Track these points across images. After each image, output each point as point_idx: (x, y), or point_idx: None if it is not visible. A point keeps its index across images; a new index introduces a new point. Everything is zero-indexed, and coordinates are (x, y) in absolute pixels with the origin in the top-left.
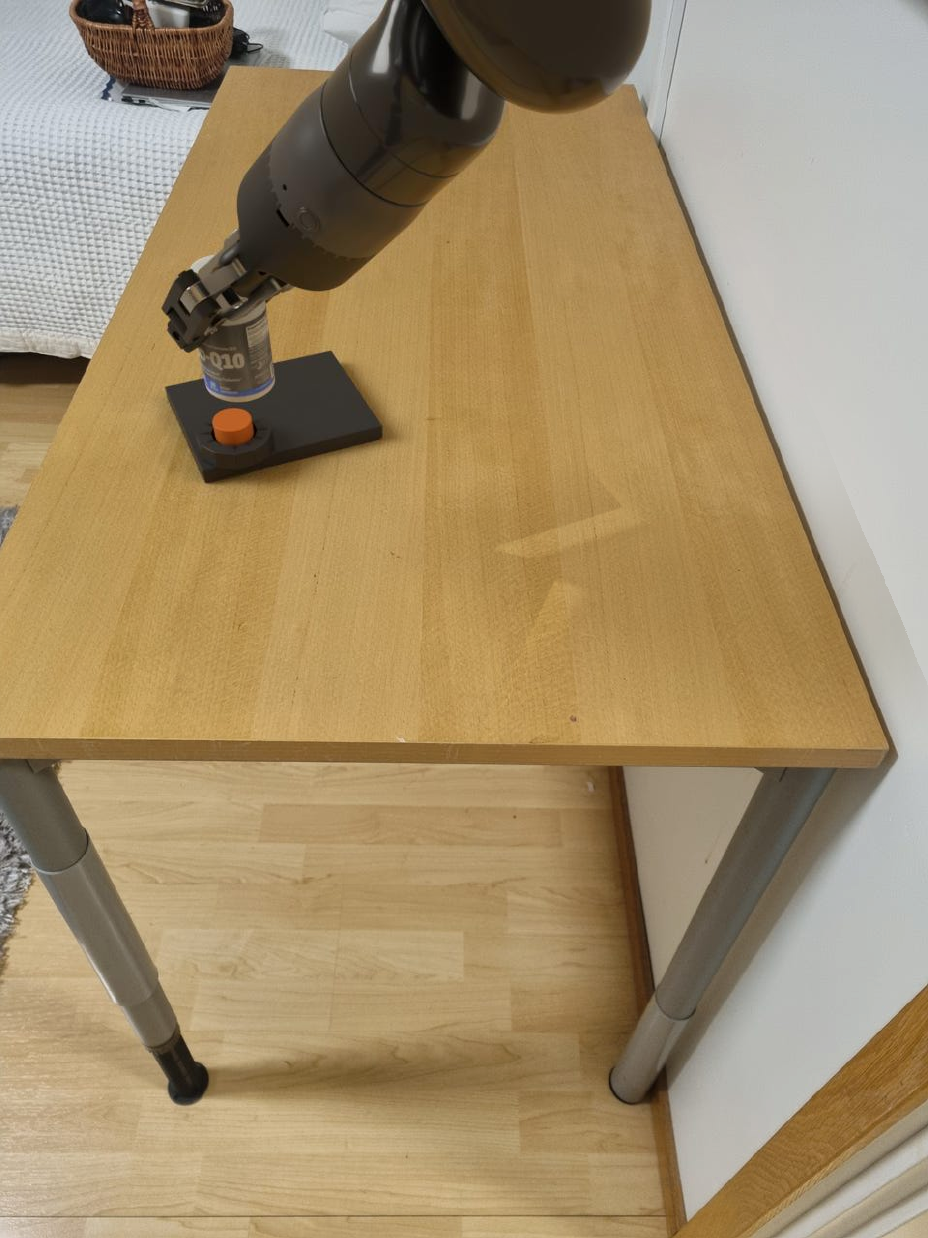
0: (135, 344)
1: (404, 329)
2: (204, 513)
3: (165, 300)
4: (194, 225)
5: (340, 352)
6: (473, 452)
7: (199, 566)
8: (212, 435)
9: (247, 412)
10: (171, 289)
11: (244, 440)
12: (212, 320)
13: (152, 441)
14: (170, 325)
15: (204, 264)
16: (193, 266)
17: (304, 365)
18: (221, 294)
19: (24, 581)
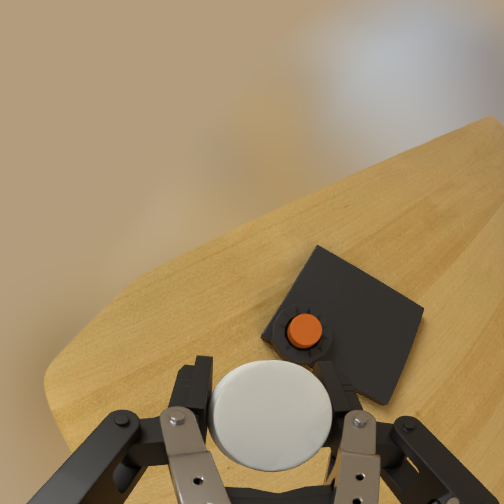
0: (339, 196)
1: (469, 322)
2: (234, 360)
3: (84, 441)
4: (429, 156)
5: (429, 307)
6: None
7: None
8: (291, 319)
9: (321, 332)
10: (47, 483)
11: (299, 347)
12: (169, 470)
13: (273, 273)
14: (176, 378)
15: (264, 383)
16: (247, 372)
17: (401, 306)
18: (177, 497)
19: (119, 303)
